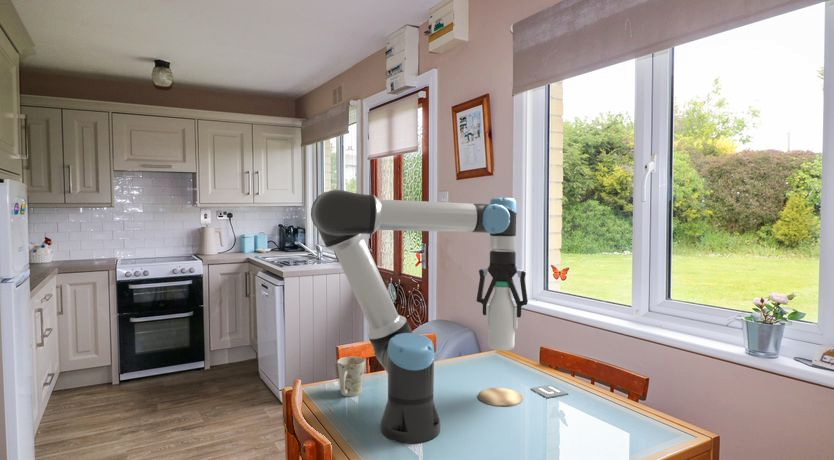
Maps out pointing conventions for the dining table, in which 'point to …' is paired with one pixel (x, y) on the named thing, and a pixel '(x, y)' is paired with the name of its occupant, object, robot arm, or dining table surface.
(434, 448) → the dining table surface
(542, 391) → the tile
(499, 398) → the round flatbread
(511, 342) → the milk bottle
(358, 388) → the mug
